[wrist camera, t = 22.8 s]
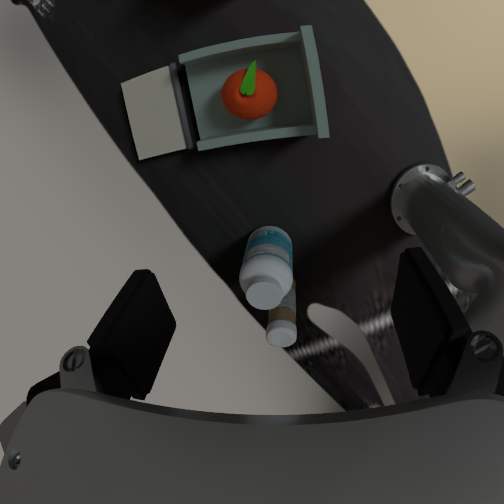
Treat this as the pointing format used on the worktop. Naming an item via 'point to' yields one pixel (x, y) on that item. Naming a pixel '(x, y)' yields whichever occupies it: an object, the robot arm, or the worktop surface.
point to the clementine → (249, 93)
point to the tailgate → (157, 112)
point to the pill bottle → (267, 267)
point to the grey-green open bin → (278, 68)
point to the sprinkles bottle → (283, 321)
